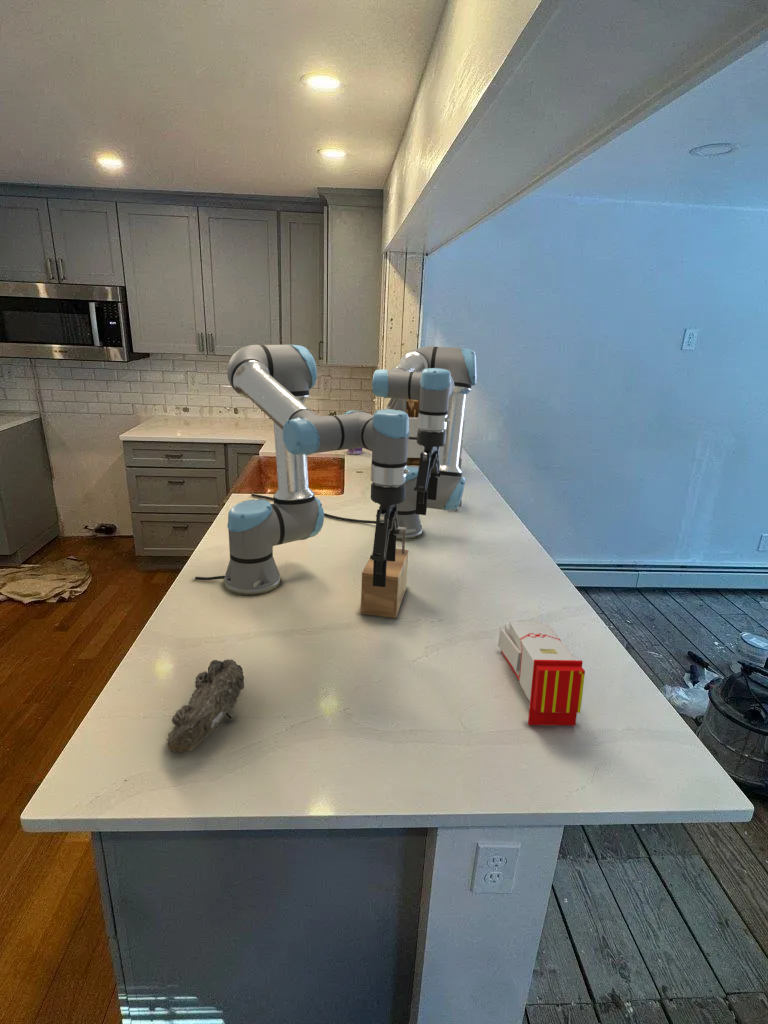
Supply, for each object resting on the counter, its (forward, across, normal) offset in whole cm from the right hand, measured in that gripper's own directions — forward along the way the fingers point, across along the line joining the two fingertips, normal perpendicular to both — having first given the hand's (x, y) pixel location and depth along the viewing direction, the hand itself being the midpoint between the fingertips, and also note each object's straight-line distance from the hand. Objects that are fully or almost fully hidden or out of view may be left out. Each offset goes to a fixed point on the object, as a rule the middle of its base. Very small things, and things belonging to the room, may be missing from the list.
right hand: (426, 506), depth 155 cm
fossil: (+24, -68, +25) cm, 76 cm away
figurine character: (+24, +73, +4) cm, 77 cm away
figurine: (+24, +140, +68) cm, 158 cm away
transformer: (+24, +116, +27) cm, 121 cm away
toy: (+24, -36, -33) cm, 54 cm away
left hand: (+6, -32, +2) cm, 32 cm away
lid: (+13, -12, +7) cm, 19 cm away
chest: (+24, -12, +7) cm, 28 cm away
